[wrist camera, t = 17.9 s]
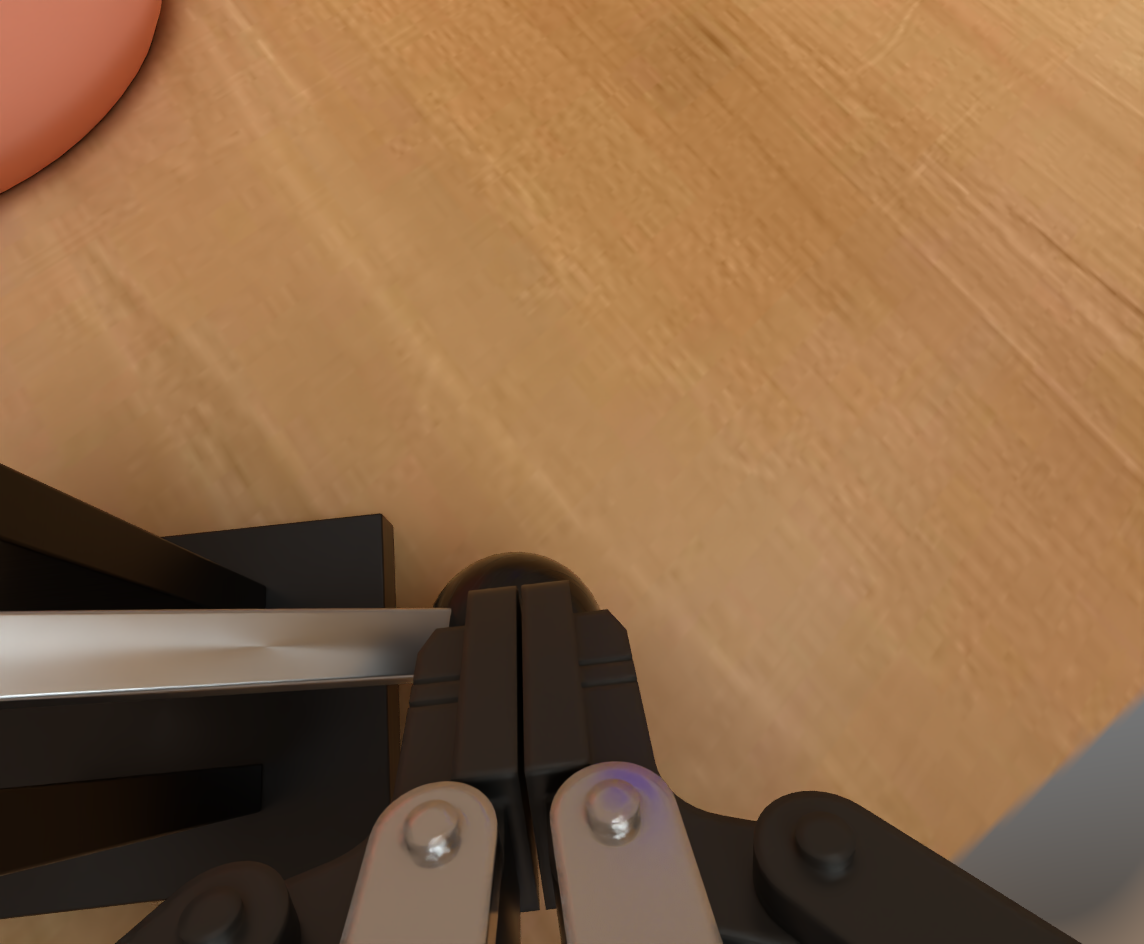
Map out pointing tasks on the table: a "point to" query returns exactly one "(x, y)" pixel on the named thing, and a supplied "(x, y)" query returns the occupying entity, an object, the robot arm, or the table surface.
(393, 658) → the lever handle
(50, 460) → the table surface
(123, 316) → the table surface
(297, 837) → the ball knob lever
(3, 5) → the teapot
